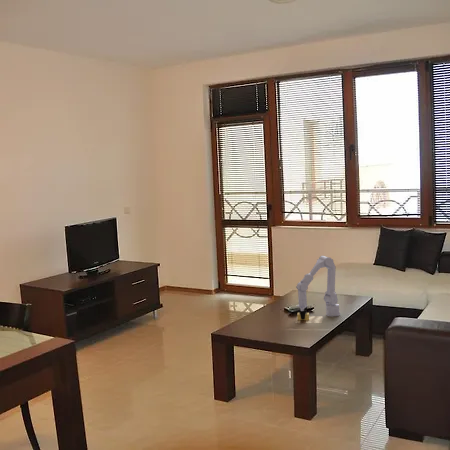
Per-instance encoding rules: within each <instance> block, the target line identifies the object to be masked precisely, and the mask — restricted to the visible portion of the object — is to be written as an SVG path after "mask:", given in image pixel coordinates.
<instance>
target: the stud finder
mask: <svg viewBox="0 0 450 450" xmlns="http://www.w3.org/2000/svg"><path fill="white" fill-rule="evenodd" d="M309 316H310V312H306V313H305V319H304V320H309ZM296 319H297V320H302V319H301V315H300V313H299V312H297V316H296Z"/></svg>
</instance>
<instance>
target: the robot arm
mask: <svg viewBox="0 0 450 450" xmlns="http://www.w3.org/2000/svg"><path fill="white" fill-rule="evenodd" d="M322 268H325V269H327V279H326V280H327V281H326V283H327V284H326V291H325V293H324V296H323V300H324V302H325V313H326V314H325V315H326V316H328V317H340V314H341V313H340V304H337V303H338V302H339V299H338V295H337V293H336V290H335V289H336V264H335V262H334V259H333V258H332V257H329V256H325V255H320V256H319V257H318V259H316V263H315V264H314V266H313V267H312V268H311V270H310V271H309V273H306V274H304V276H303V278H302V279H300V281H299V282H298V283H297V284H296V286H295V288H296V289H297V296H298V298H297V300H298V304H297V305H296V307H297V308H299V309H298V313H300V315H301V319H302V320H304V319H305V313H307V309H308V303H307V302H308V300H307V290H308V289H309V285H310V284H311V282H312V281H313V280H314V277H315V275H316V274H317V273H318V272H319V270H320V269H322Z"/></svg>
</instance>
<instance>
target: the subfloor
mask: <svg viewBox="0 0 450 450" xmlns="http://www.w3.org/2000/svg"><path fill="white" fill-rule="evenodd" d="M322 323H323V315H321V316H319V315H317V316H314V315H313V316H311V315H309V320H297V318H296V320H295V322H294V324H300V325H301V324H302V325H303V324H304V325H305V324H322Z"/></svg>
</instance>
